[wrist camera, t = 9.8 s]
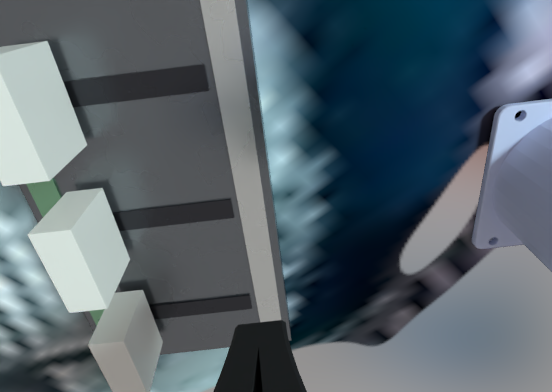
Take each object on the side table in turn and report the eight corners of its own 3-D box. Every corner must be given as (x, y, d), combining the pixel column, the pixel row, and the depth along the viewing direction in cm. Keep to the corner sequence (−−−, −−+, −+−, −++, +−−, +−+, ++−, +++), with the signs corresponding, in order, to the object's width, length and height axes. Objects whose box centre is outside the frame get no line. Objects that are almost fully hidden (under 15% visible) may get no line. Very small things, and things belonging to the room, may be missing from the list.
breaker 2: (142, 289, 19) (123, 341, 17) (162, 342, 21) (148, 396, 19) (112, 293, 19) (87, 345, 17) (135, 344, 21) (116, 399, 19)
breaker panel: (243, -33, 14) (241, -34, 13) (289, 320, 24) (291, 341, 22) (-42, 4, 14) (-74, 7, 13) (116, 339, 24) (107, 361, 22)
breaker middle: (102, 187, 16) (70, 229, 14) (130, 259, 18) (107, 308, 16) (66, 192, 17) (27, 234, 14) (97, 263, 18) (69, 313, 16)
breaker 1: (47, 40, 14) (-8, 56, 11) (87, 144, 16) (50, 180, 13) (3, 46, 14) (-63, 63, 11) (49, 149, 16) (3, 186, 13)
